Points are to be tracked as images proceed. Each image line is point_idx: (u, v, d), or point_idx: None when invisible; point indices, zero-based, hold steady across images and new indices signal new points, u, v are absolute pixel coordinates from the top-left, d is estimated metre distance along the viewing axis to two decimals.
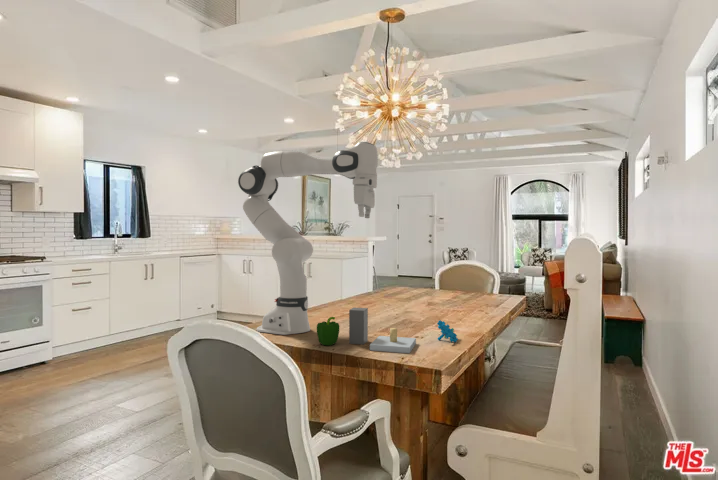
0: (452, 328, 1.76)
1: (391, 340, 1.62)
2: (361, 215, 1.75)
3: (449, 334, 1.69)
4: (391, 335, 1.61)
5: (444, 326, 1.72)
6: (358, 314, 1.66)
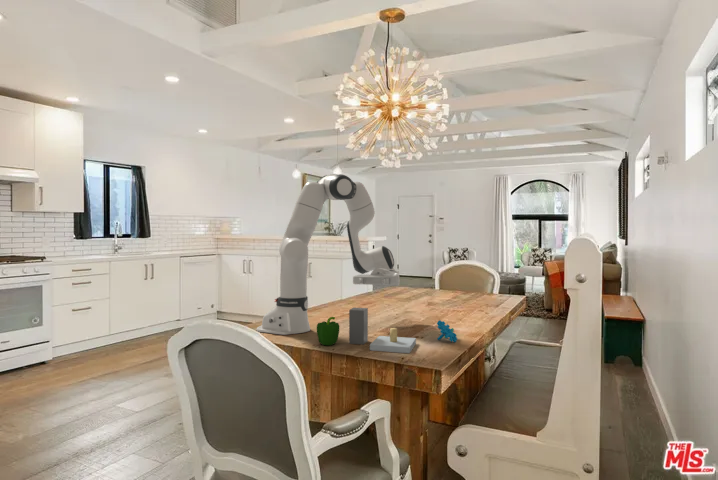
0: (452, 328, 1.76)
1: (391, 340, 1.62)
2: (384, 282, 1.86)
3: (449, 334, 1.69)
4: (391, 335, 1.61)
5: (444, 326, 1.72)
6: (358, 314, 1.66)
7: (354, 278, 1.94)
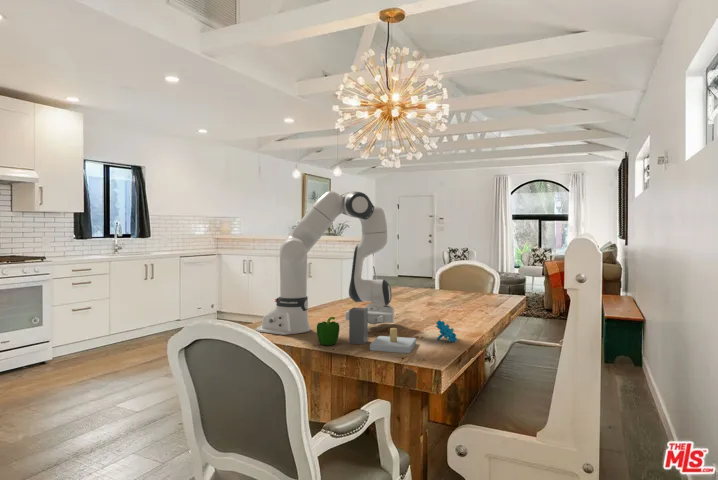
0: (452, 328, 1.76)
1: (391, 340, 1.62)
2: (378, 320, 1.77)
3: (448, 334, 1.69)
4: (391, 335, 1.61)
5: (443, 326, 1.72)
6: (358, 314, 1.66)
7: (346, 314, 1.85)
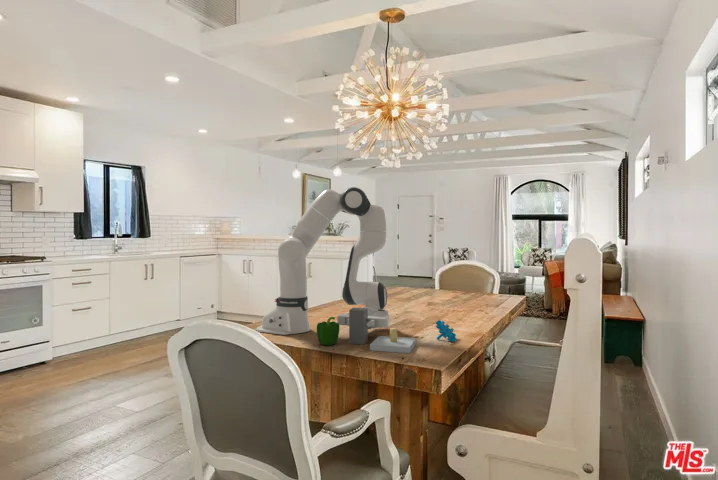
0: (452, 328, 1.76)
1: (391, 340, 1.62)
2: (369, 325, 1.68)
3: (447, 334, 1.70)
4: (391, 335, 1.61)
5: (443, 326, 1.72)
6: (358, 314, 1.66)
7: (339, 318, 1.75)
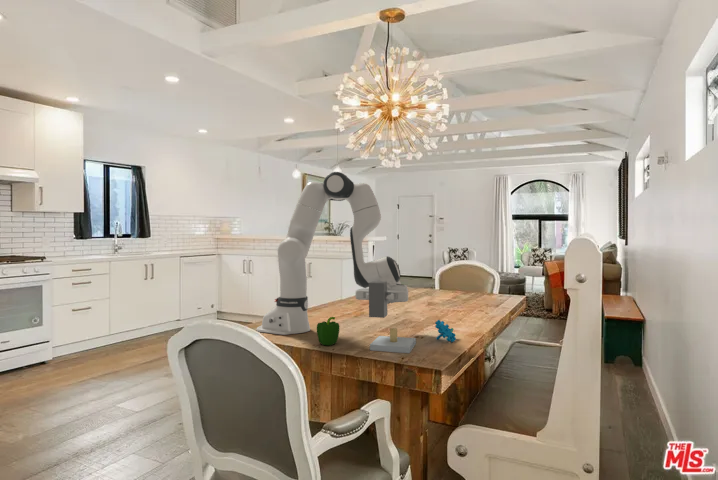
0: (451, 328, 1.76)
1: (391, 340, 1.62)
2: (389, 298, 1.64)
3: (446, 334, 1.70)
4: (391, 335, 1.61)
5: (442, 326, 1.72)
6: (378, 287, 1.63)
7: (357, 293, 1.72)
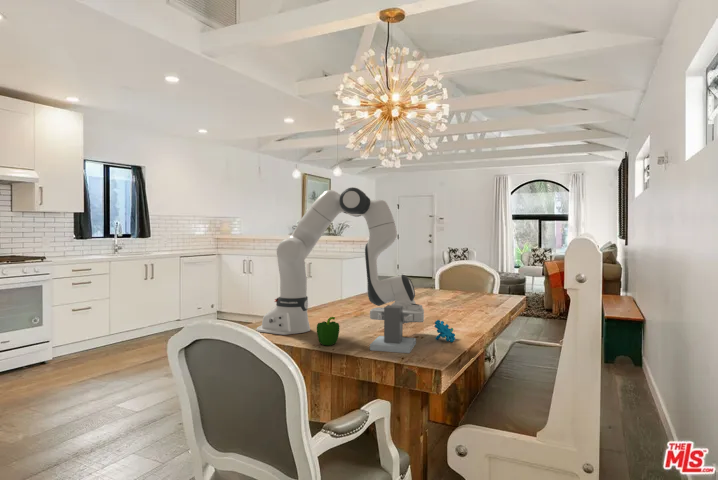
0: (451, 328, 1.76)
1: None
2: (408, 319, 1.60)
3: (446, 334, 1.70)
4: None
5: (442, 325, 1.73)
6: (393, 312, 1.59)
7: (371, 312, 1.69)
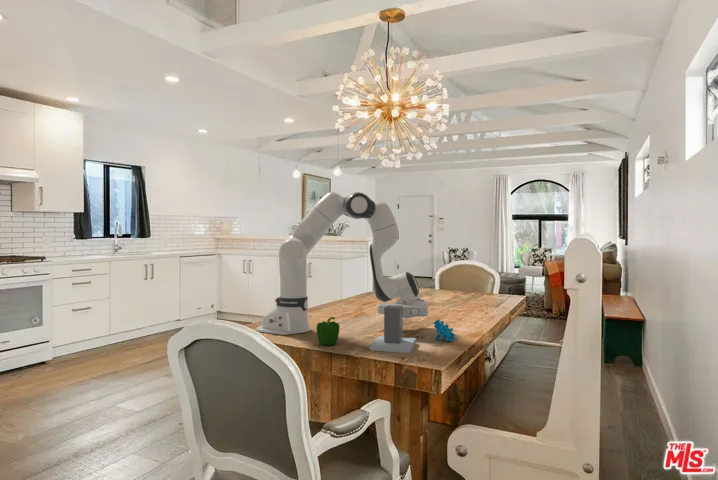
0: (451, 328, 1.76)
1: None
2: (413, 313, 1.72)
3: (445, 333, 1.70)
4: None
5: (441, 325, 1.73)
6: (393, 312, 1.59)
7: (379, 307, 1.80)
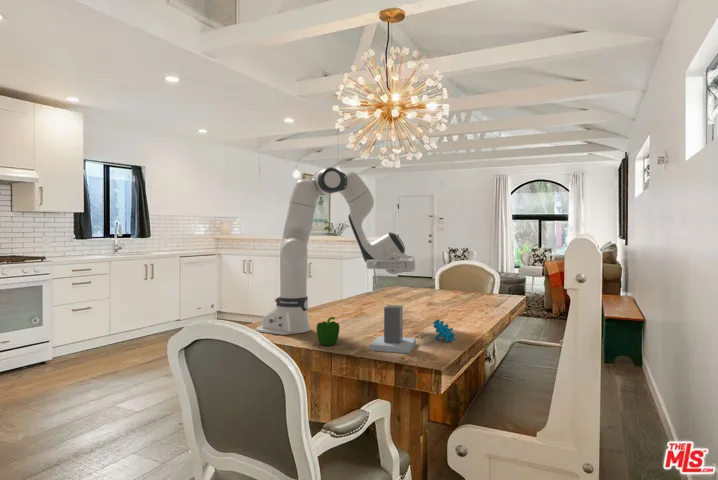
0: (451, 328, 1.76)
1: None
2: (401, 266, 1.78)
3: (444, 333, 1.70)
4: None
5: (441, 325, 1.73)
6: (393, 312, 1.59)
7: (368, 262, 1.86)
